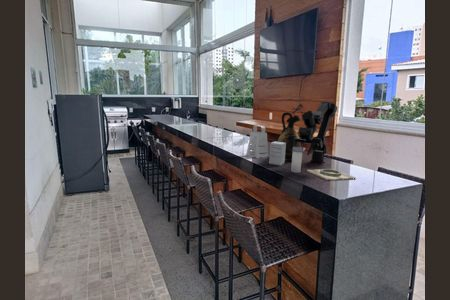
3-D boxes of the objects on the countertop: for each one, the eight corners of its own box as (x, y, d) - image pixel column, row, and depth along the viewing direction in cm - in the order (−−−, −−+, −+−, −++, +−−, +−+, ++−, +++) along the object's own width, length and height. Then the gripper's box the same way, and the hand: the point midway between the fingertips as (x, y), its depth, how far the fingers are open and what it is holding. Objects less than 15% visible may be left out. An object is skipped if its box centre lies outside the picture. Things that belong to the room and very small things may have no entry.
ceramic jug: (302, 158, 180) (307, 112, 174) (295, 162, 167) (300, 113, 161) (277, 154, 188) (281, 111, 183) (269, 158, 175) (273, 111, 169)
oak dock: (333, 170, 152) (333, 166, 152) (355, 179, 137) (356, 175, 136) (306, 171, 148) (307, 167, 147) (326, 180, 132) (327, 176, 131)
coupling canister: (297, 169, 149) (299, 146, 147) (302, 172, 144) (305, 148, 142) (288, 170, 148) (291, 146, 145) (293, 172, 143) (296, 148, 140)
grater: (257, 158, 175) (259, 126, 171) (246, 155, 183) (248, 125, 179) (268, 156, 182) (270, 126, 178) (257, 153, 189) (259, 124, 186)
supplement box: (273, 161, 167) (274, 141, 165) (284, 163, 164) (286, 142, 161) (268, 163, 161) (270, 142, 159) (280, 165, 157) (282, 144, 155)
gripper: (290, 120, 153) (279, 141, 146) (323, 123, 142) (313, 146, 135) (294, 133, 160) (284, 154, 154) (326, 137, 149) (317, 159, 142)
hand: (299, 153), depth 146 cm, fingers open, 9 cm apart
